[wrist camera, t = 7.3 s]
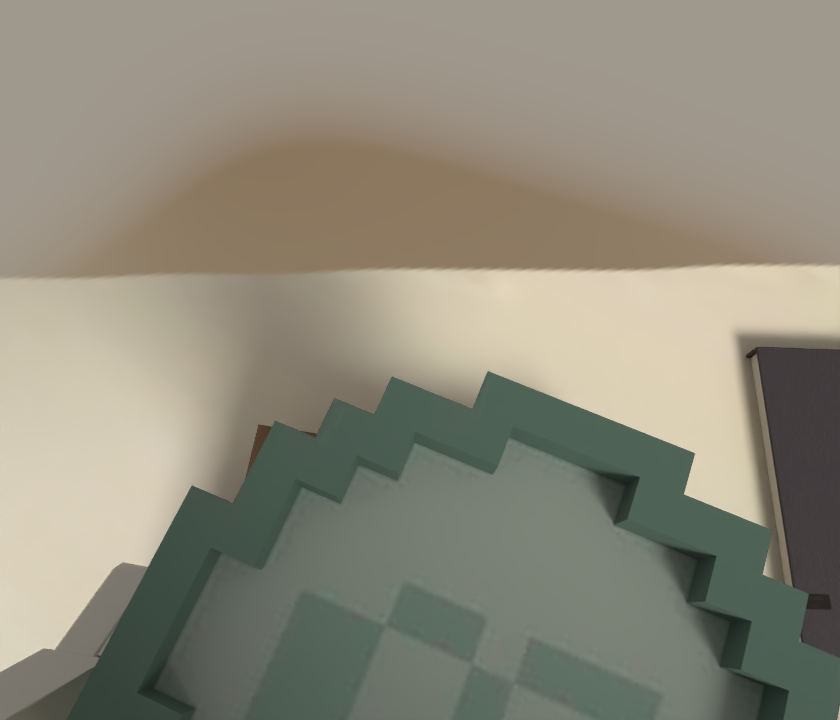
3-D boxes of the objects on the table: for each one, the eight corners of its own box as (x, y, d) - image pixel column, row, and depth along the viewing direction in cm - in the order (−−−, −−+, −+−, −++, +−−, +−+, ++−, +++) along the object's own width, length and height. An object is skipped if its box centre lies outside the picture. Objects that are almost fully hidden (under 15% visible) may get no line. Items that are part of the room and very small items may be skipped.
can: (365, 514, 21) (294, 294, 7) (556, 596, 20) (919, 541, 6) (273, 723, 19) (-102, 1031, 5) (482, 823, 18) (768, 1522, 4)
